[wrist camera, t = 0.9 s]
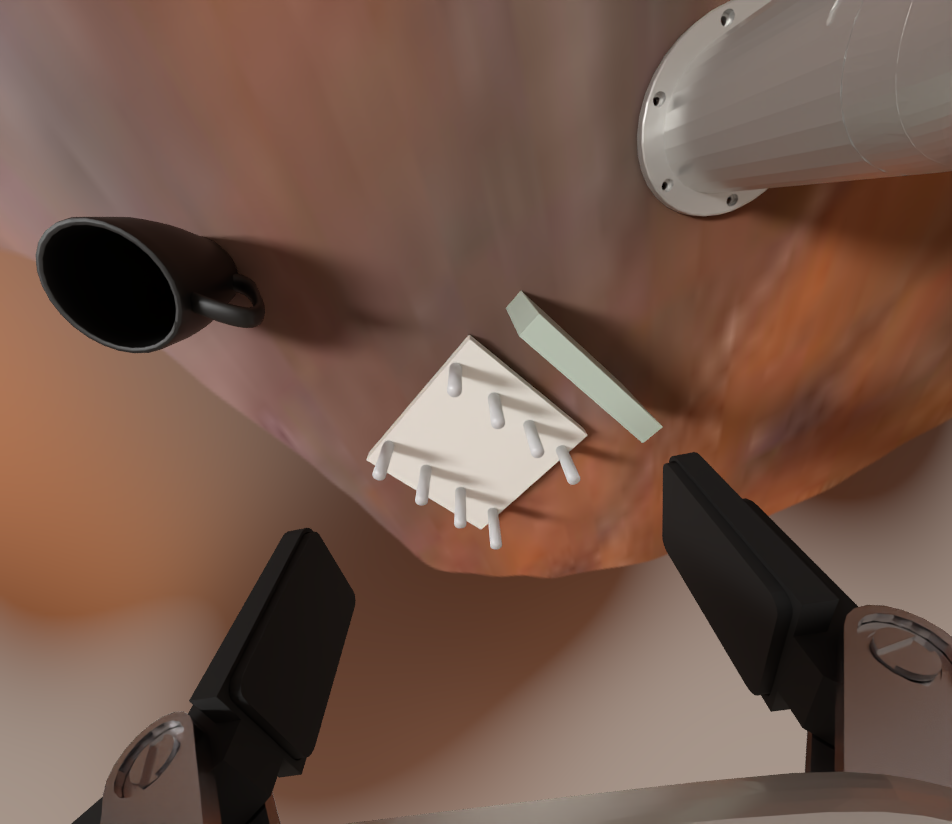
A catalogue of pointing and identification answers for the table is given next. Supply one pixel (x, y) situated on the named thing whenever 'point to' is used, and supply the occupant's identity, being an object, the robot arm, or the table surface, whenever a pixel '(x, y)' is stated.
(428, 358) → the table surface
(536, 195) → the table surface
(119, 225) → the mug
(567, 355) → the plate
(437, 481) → the dish rack
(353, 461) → the table surface
